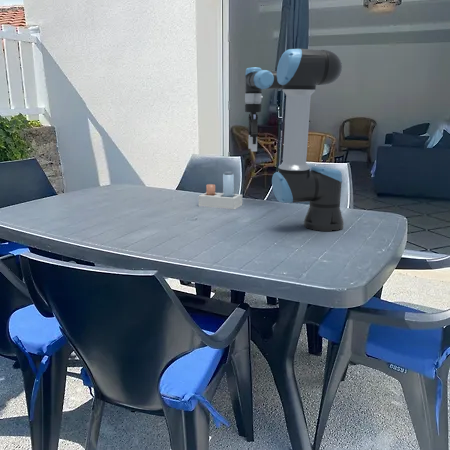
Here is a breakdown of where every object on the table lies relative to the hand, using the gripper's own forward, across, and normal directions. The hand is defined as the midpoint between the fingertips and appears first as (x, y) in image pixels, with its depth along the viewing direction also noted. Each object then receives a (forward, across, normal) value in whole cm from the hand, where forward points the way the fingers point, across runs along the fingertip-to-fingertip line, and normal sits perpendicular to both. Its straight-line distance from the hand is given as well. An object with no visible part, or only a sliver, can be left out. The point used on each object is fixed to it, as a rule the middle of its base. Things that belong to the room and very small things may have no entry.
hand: (252, 150), depth 202 cm
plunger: (+21, -5, +20) cm, 30 cm away
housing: (+26, -8, +16) cm, 31 cm away
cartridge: (+25, -9, +12) cm, 29 cm away
